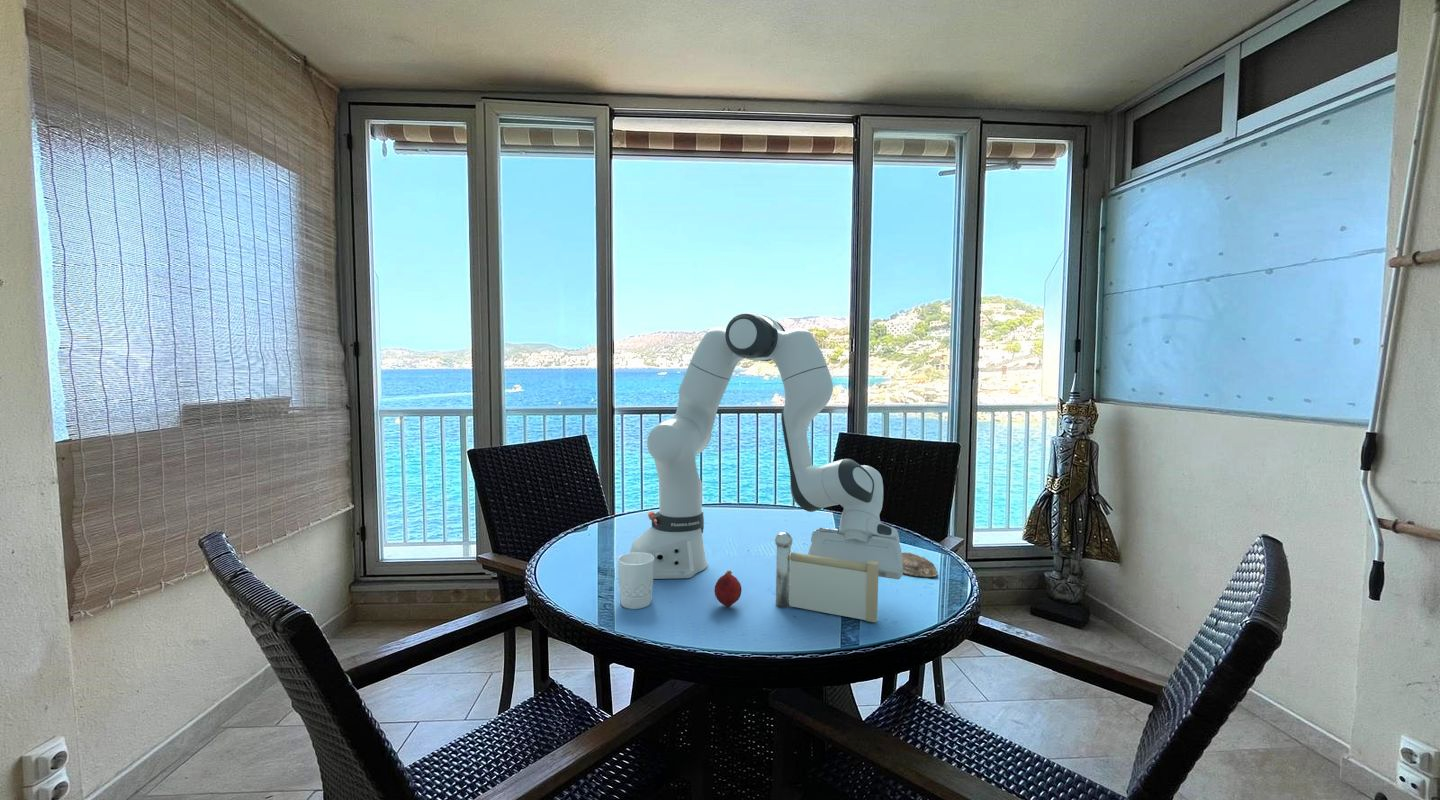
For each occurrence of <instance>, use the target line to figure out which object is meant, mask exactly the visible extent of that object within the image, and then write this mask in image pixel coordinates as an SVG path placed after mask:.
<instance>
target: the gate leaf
mask: <svg viewBox="0 0 1440 800" xmlns="http://www.w3.org/2000/svg"><path fill="white" fill-rule="evenodd" d="M878 572H879V561H872V560H869V561H868V563H862V562H856V561H849V560H842V559H835V558H828V557H821V556H815V555H808V553H807V554H806V553H799V552H792V551H790V604H789V607H793V608H798V609H799V608H800V609H804V610H810V611H814V612H821V613H826V614H830V615H837V616H841V617H848V618H852V619H857V620H858V619H859V620H863V621H865V622H869V623H870V622H871V623H877V620H878V603H879V601H878V600H879V577H878Z"/></svg>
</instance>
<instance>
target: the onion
mask: <svg viewBox="0 0 1440 800" xmlns="http://www.w3.org/2000/svg"><path fill="white" fill-rule="evenodd" d="M732 573H733V572H732V570H726V572H725V573H724V574H723V575H722V576H720V577H719V578H718V579H717V581H716V583H715V585H714V588H713V589H714V596H715V597H716V600H717V601H718V602H719V603H720V604H721V605H723V606H725V607H726V608H730V607H731V606H733V605H734V604H735V603H736V602H738V601H739V600H740V597H741V596H742V584H741V582H740V581H739V580H738V578H736V576H735V575H734V574H732Z"/></svg>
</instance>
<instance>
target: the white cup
mask: <svg viewBox="0 0 1440 800" xmlns="http://www.w3.org/2000/svg"><path fill="white" fill-rule="evenodd" d="M617 570H618V573H617V574H618V587H619V588H618V589H619V593H620V594H619V595H620V600H619V601H620V606H622V607H623V608H625V609H629V610H639V609H645V608H646V607H648V606H649V605H651V603H652V600H653V598H652V597H653V592H652V591H653V588H654V579H653V573H654V556H653V555H651V554H648V553H642V552H635V553H630V552H629V553H625V554H621V555H620V556H618V558H617Z"/></svg>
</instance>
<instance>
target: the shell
mask: <svg viewBox="0 0 1440 800" xmlns="http://www.w3.org/2000/svg"><path fill="white" fill-rule="evenodd" d="M902 561H903V575H904V576H909V577H913V578H920V579H921V578H923V579H934V578H935V577H937V576H938V572H937V568H936V566H935V565H934V563H933V562H931V561H930V560H929V559H927V558H926V557H924V556H920V555H917V554H915V553H912V552H902Z"/></svg>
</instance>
